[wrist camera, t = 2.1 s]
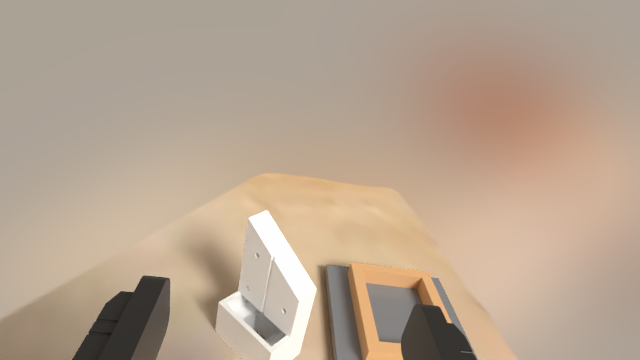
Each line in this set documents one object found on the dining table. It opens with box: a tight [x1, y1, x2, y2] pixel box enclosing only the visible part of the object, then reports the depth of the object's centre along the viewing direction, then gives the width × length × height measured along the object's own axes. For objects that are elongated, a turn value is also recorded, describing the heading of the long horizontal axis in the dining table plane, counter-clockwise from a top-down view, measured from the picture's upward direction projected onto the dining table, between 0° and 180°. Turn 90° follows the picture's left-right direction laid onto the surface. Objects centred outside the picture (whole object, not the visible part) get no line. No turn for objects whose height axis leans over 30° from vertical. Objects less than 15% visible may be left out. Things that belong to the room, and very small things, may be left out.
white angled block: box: [215, 210, 317, 360], centre depth 28 cm, size 4×10×9 cm, turn 50°
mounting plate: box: [325, 262, 478, 360], centre depth 33 cm, size 12×12×2 cm
